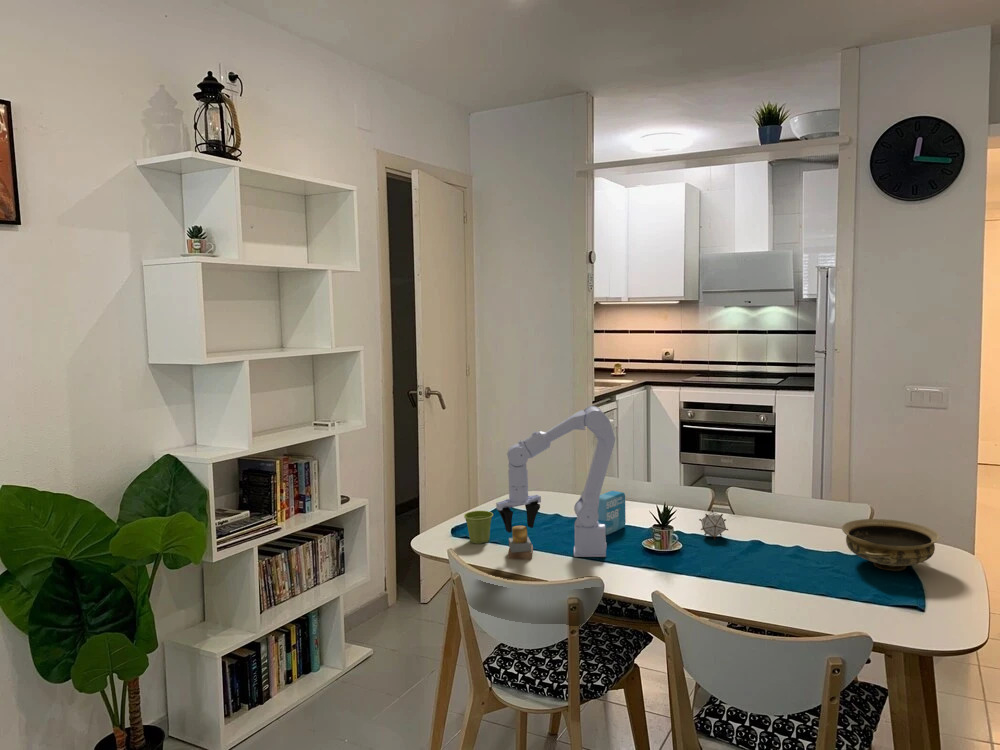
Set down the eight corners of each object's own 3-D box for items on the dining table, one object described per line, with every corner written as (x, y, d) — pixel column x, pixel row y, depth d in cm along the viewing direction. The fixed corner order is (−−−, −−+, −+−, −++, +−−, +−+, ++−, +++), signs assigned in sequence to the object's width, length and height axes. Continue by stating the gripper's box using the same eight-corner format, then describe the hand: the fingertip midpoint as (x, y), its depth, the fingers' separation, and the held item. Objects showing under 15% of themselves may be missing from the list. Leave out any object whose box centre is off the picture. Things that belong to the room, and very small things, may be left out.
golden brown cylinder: (528, 538, 229) (528, 525, 228) (525, 543, 225) (525, 530, 224) (514, 538, 230) (513, 525, 229) (511, 542, 226) (510, 529, 225)
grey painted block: (528, 544, 231) (528, 536, 231) (531, 551, 225) (531, 543, 225) (508, 546, 230) (508, 538, 230) (511, 552, 224) (511, 544, 224)
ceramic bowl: (860, 542, 229) (861, 510, 228) (950, 559, 213) (951, 525, 212) (824, 571, 207) (825, 536, 206) (922, 593, 191) (923, 554, 190)
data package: (605, 536, 243) (604, 499, 241) (593, 533, 246) (593, 497, 244) (625, 526, 252) (625, 491, 250) (614, 524, 255) (613, 489, 253)
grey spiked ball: (720, 548, 239) (739, 527, 234) (699, 543, 235) (717, 521, 231) (709, 527, 246) (727, 506, 241) (688, 522, 243) (706, 500, 238)
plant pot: (461, 545, 238) (460, 518, 237) (469, 535, 247) (468, 509, 247) (489, 546, 236) (489, 519, 235) (497, 537, 245) (496, 510, 244)
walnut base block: (533, 552, 231) (532, 544, 231) (531, 561, 224) (531, 552, 224) (510, 552, 232) (509, 544, 231) (508, 560, 225) (508, 552, 224)
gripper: (504, 491, 218) (505, 537, 220) (546, 483, 225) (547, 528, 227) (492, 486, 224) (493, 531, 226) (533, 479, 232) (534, 522, 233)
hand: (519, 529), depth 227 cm, fingers open, 7 cm apart
